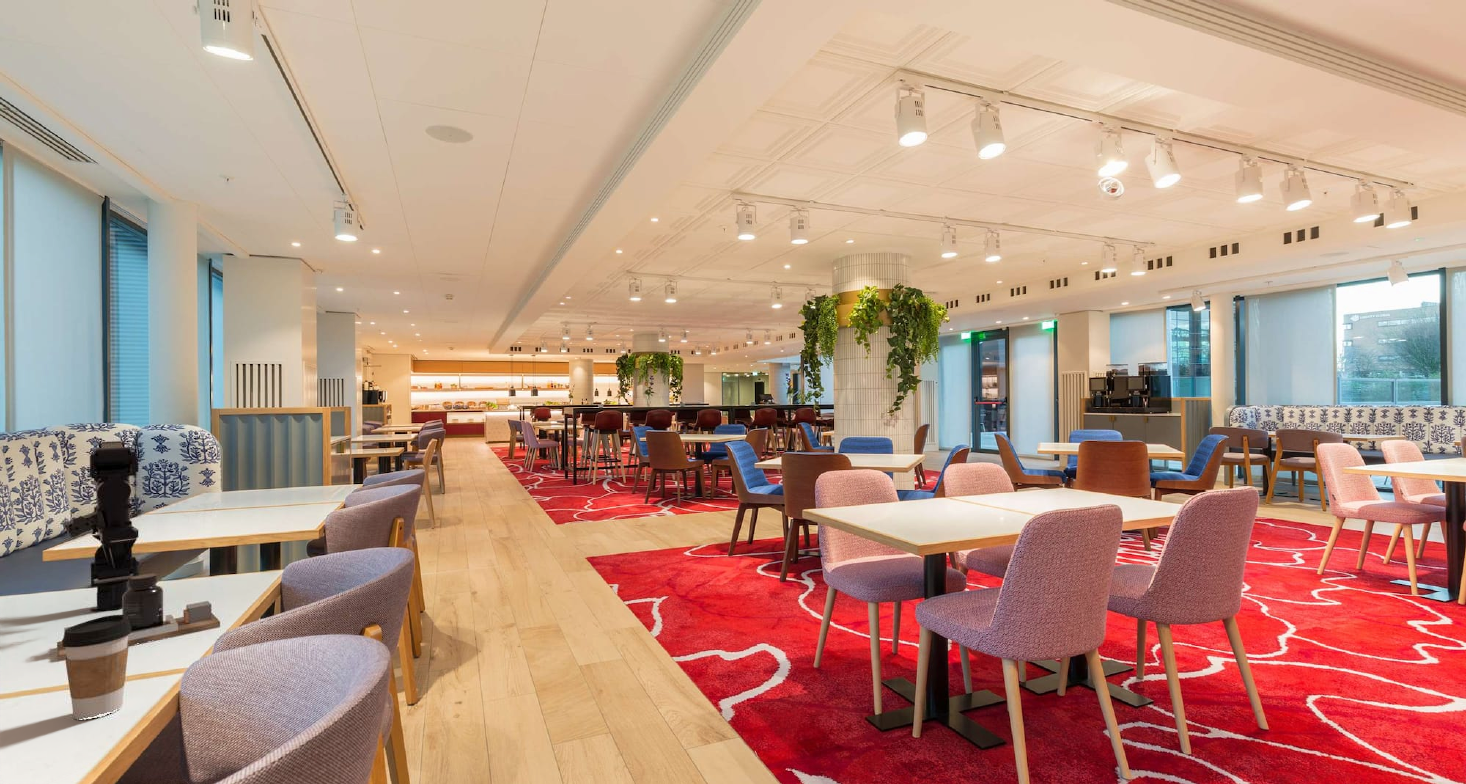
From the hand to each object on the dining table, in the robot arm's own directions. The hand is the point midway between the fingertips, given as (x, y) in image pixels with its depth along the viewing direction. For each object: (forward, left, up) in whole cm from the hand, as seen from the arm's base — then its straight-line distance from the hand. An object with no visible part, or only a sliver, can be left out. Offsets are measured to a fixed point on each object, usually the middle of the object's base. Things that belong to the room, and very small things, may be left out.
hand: (114, 566), depth 159 cm
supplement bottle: (+13, +14, -12) cm, 23 cm away
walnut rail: (+13, +14, -13) cm, 24 cm away
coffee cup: (+53, +33, -13) cm, 64 cm away
